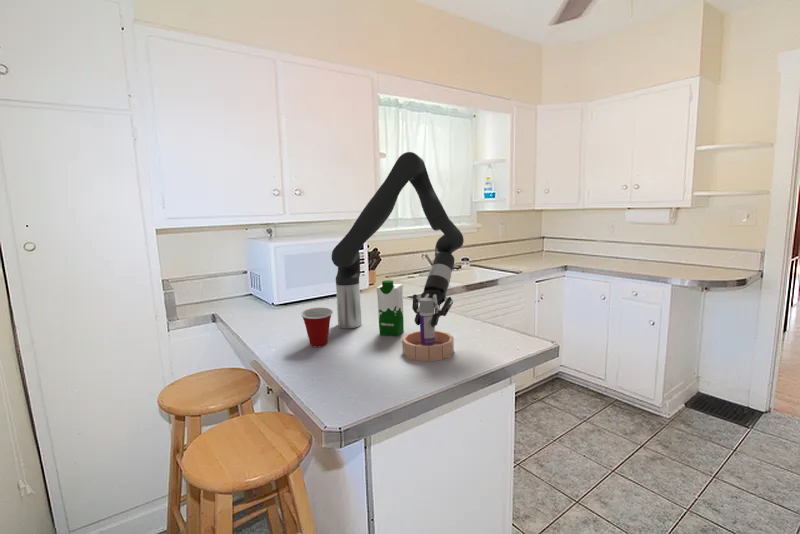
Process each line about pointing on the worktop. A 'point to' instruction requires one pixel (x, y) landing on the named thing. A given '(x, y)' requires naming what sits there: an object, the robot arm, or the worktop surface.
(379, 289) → the milk carton
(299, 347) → the worktop surface
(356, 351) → the worktop surface
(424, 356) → the bowl
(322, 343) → the plastic cup
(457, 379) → the worktop surface
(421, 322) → the container
